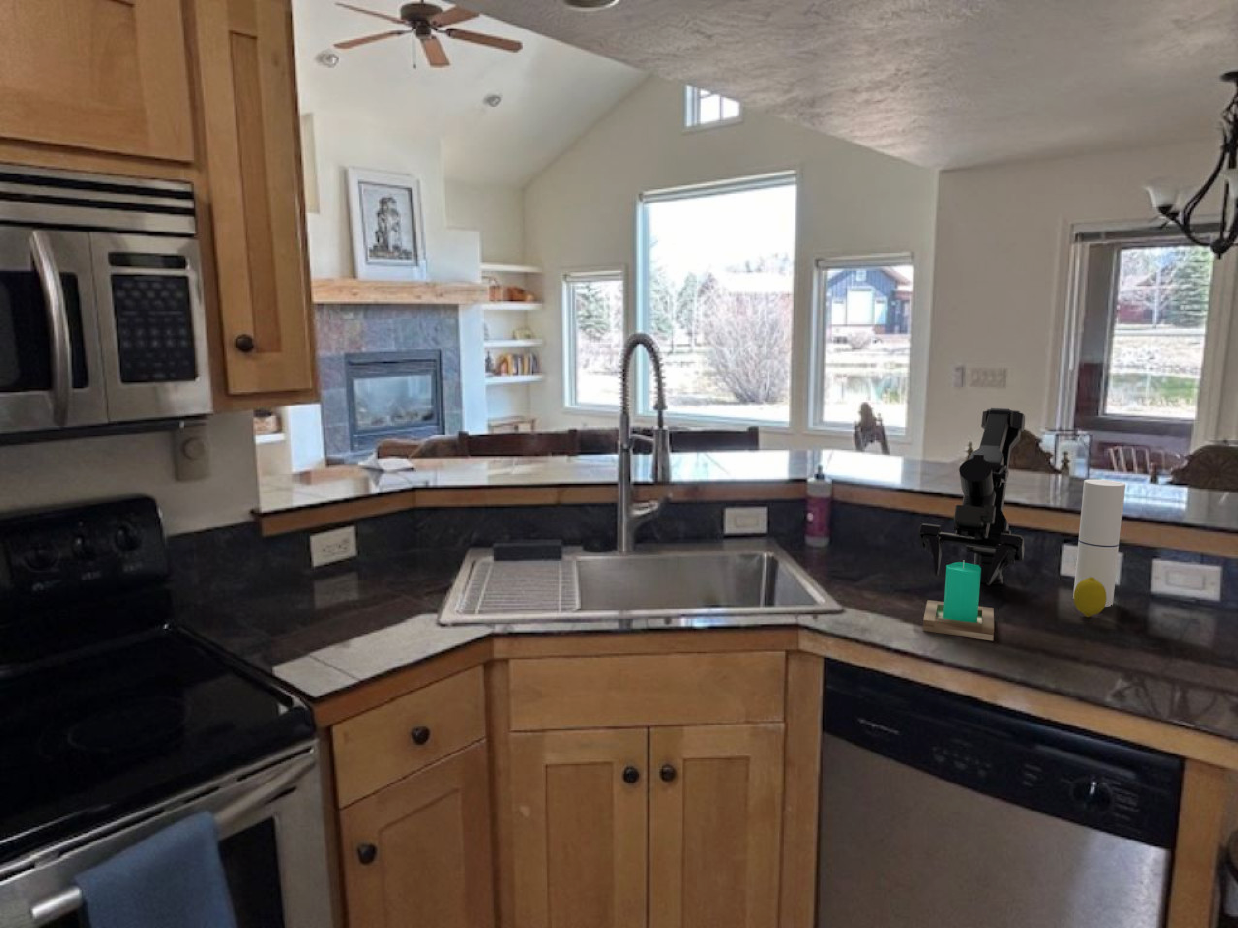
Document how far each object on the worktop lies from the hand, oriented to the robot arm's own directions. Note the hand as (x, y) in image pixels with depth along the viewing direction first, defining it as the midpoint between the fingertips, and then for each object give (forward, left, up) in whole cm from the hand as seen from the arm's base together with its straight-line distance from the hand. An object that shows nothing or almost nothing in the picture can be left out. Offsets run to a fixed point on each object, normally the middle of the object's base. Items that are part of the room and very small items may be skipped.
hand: (961, 579), depth 152 cm
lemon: (-15, +23, -9) cm, 29 cm away
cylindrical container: (-26, +25, -9) cm, 37 cm away
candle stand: (0, 0, -9) cm, 9 cm away
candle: (0, 0, -8) cm, 8 cm away
